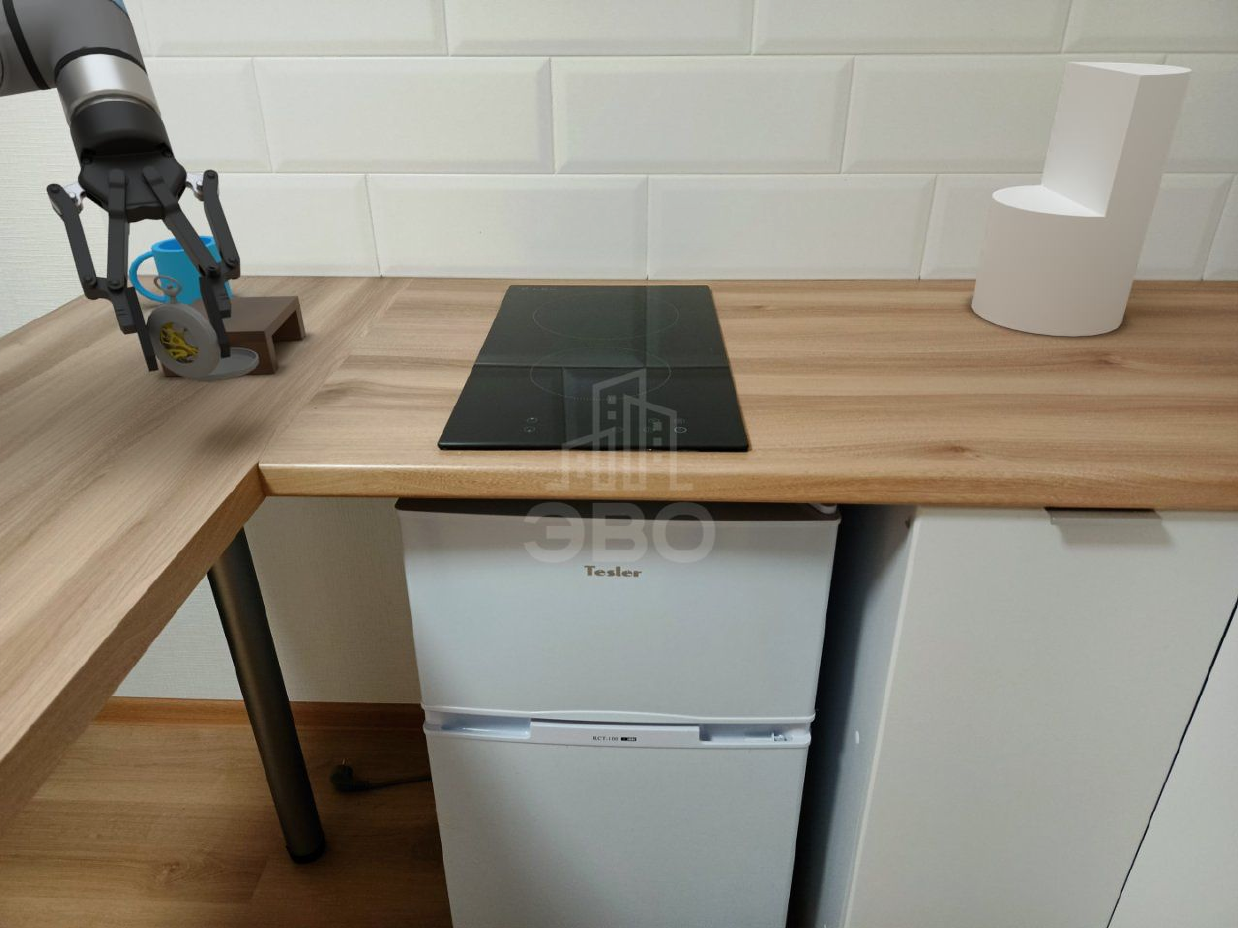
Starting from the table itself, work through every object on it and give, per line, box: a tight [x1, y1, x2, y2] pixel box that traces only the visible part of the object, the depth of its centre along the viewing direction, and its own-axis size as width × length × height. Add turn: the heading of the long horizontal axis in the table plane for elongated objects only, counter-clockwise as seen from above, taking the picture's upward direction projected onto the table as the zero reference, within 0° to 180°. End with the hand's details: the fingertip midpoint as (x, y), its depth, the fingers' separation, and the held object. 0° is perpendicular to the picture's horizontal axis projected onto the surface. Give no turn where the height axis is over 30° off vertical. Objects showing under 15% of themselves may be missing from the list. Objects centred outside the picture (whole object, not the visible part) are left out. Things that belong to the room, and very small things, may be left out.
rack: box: [160, 295, 307, 377], centre depth 99 cm, size 12×12×5 cm
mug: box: [128, 235, 233, 305], centre depth 114 cm, size 12×8×8 cm
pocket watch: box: [145, 275, 259, 383], centre depth 75 cm, size 8×8×10 cm
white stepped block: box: [970, 61, 1193, 337], centre depth 101 cm, size 17×17×28 cm
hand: (189, 356), depth 72 cm, fingers closed on pocket watch, 5 cm apart
